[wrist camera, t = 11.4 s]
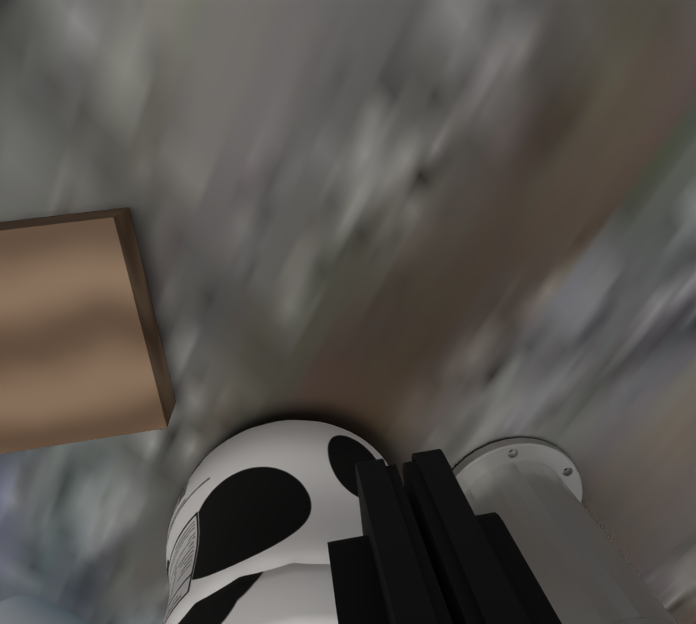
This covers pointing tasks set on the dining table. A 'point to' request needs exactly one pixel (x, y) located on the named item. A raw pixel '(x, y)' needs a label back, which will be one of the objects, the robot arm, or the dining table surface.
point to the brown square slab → (77, 333)
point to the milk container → (265, 526)
